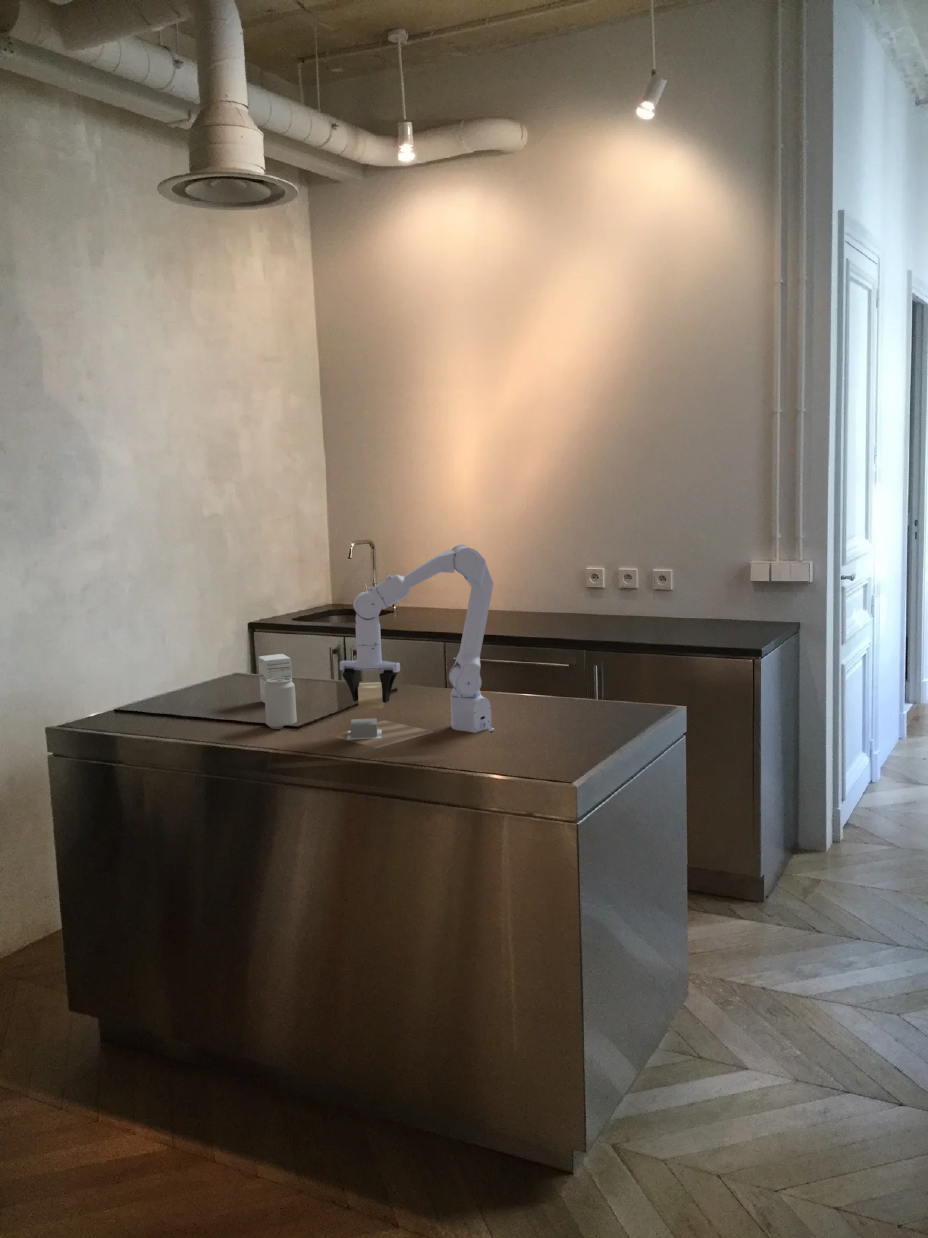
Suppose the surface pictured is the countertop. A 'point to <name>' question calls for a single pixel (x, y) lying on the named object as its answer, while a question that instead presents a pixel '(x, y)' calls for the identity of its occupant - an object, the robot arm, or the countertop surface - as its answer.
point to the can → (280, 702)
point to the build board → (385, 734)
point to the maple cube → (370, 695)
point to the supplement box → (273, 669)
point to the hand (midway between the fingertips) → (371, 701)
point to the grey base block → (363, 728)
